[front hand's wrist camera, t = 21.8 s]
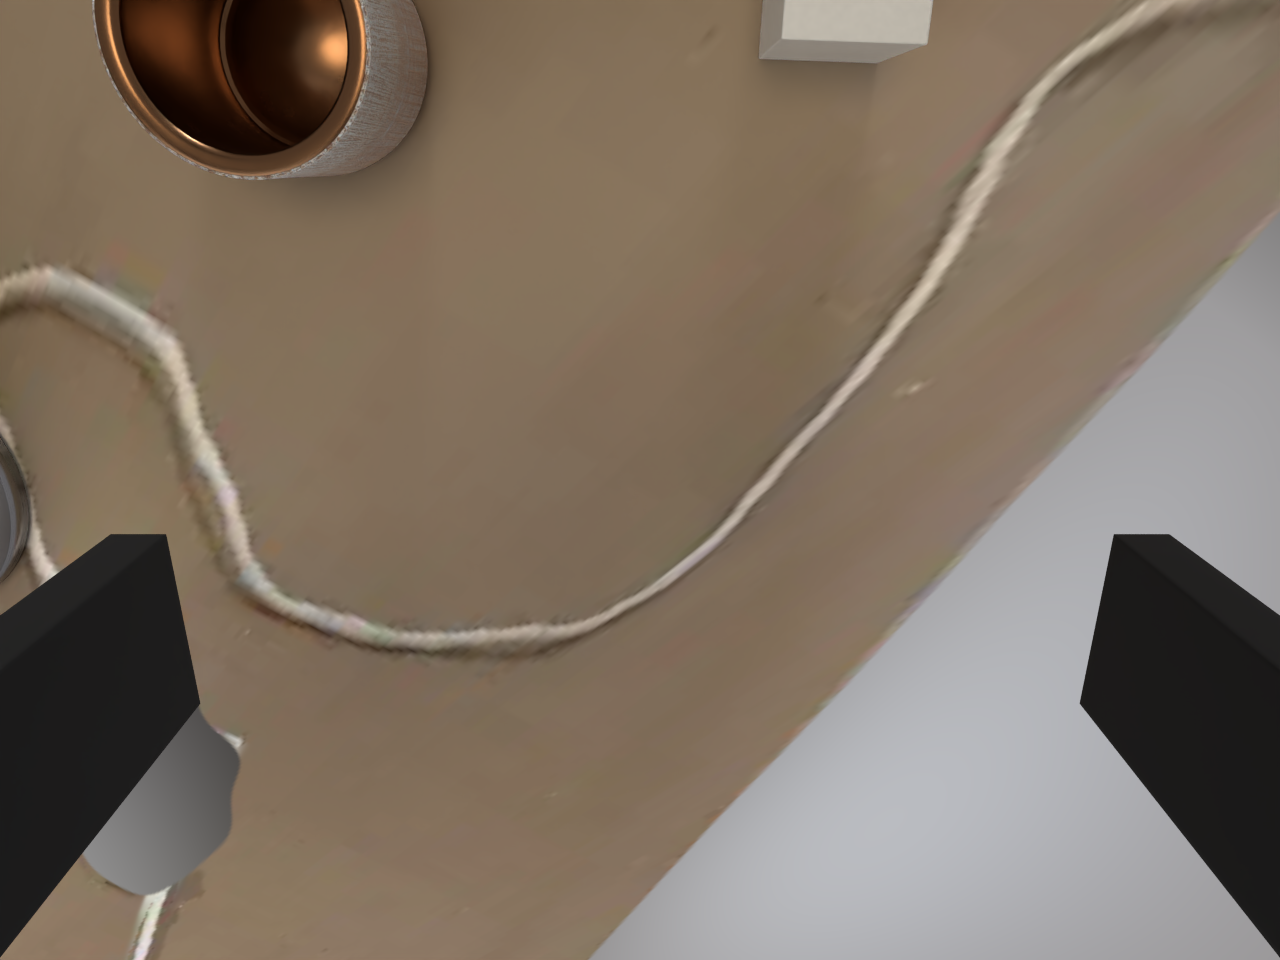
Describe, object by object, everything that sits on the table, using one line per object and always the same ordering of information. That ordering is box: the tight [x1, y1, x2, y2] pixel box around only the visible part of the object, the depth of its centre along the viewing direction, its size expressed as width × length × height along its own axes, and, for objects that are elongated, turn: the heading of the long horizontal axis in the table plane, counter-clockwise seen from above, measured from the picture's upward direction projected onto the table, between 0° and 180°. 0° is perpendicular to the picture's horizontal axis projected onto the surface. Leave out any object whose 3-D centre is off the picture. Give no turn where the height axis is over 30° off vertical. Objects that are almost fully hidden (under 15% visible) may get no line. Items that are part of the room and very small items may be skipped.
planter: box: [92, 0, 428, 180], centre depth 39 cm, size 11×11×10 cm
